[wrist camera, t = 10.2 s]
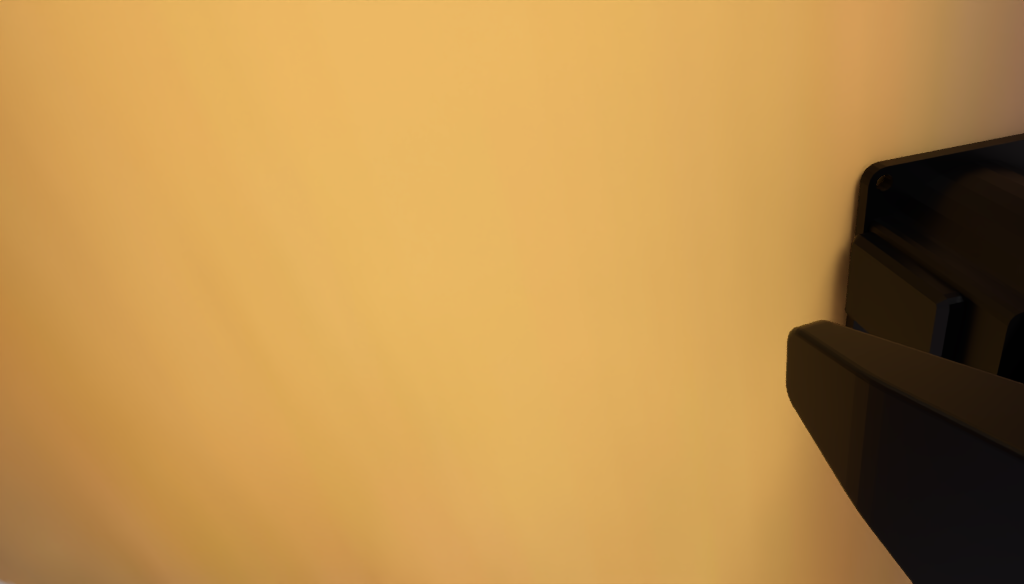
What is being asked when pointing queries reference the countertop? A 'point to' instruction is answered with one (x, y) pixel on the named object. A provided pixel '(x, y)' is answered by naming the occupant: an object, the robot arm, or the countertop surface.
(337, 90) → the countertop surface
